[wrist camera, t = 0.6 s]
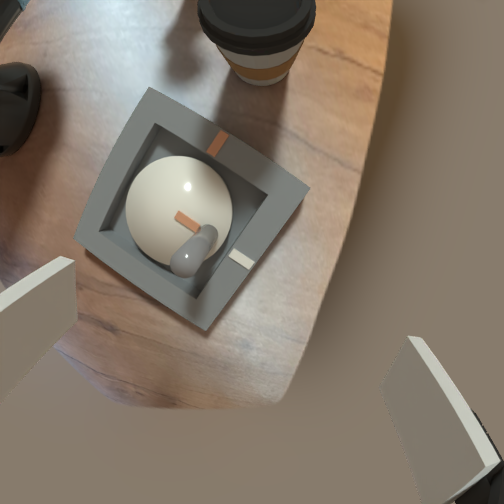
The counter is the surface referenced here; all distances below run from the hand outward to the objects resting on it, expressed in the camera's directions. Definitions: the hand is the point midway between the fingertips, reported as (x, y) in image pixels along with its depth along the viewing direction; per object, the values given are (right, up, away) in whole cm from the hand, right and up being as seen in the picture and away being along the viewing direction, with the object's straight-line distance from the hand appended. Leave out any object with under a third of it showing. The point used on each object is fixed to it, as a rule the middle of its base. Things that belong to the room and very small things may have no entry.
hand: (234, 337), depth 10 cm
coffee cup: (+2, +24, +18) cm, 30 cm away
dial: (-7, +8, +22) cm, 24 cm away
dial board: (-7, +8, +23) cm, 25 cm away
